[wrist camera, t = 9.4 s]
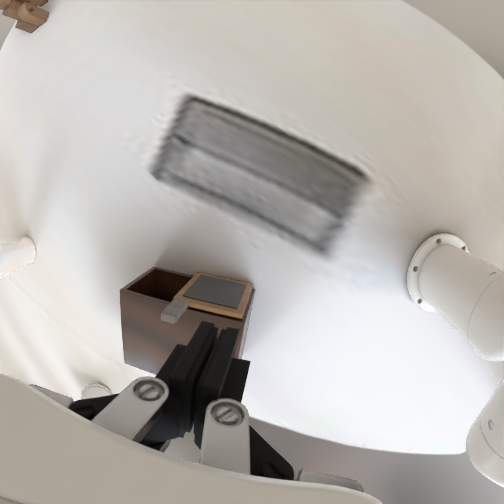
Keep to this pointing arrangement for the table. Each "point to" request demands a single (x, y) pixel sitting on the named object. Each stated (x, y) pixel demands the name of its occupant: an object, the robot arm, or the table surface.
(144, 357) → the cabinet
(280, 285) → the table surface
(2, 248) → the beer glass
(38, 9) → the wooden toy
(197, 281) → the sliding door
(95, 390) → the spotlight
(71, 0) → the table surface
